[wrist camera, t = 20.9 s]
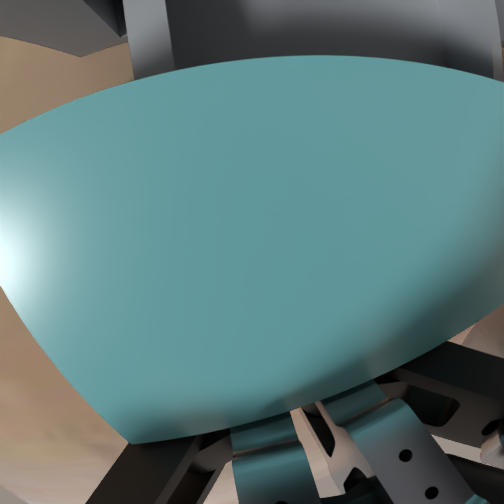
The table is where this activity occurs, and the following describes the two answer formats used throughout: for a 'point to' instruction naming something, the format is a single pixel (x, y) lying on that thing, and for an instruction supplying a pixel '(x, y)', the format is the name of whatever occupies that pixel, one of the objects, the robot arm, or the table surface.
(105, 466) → the table surface
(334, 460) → the robot arm
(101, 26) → the cubby
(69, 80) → the table surface
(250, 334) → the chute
